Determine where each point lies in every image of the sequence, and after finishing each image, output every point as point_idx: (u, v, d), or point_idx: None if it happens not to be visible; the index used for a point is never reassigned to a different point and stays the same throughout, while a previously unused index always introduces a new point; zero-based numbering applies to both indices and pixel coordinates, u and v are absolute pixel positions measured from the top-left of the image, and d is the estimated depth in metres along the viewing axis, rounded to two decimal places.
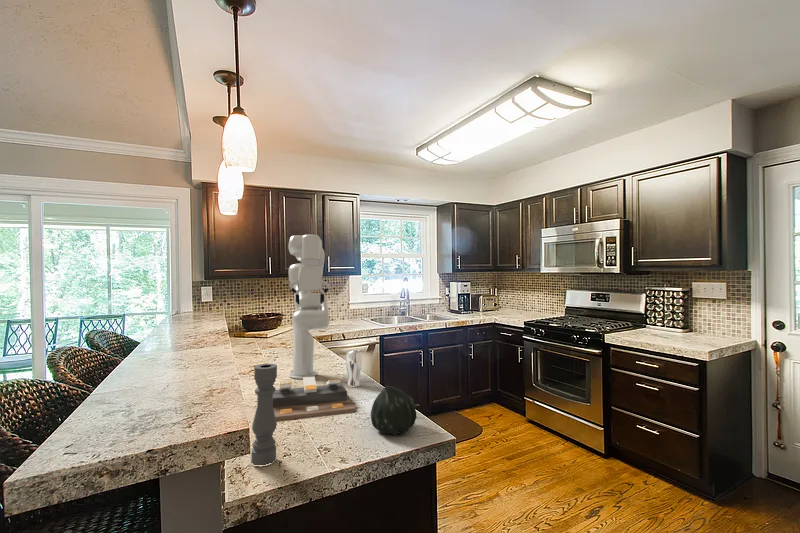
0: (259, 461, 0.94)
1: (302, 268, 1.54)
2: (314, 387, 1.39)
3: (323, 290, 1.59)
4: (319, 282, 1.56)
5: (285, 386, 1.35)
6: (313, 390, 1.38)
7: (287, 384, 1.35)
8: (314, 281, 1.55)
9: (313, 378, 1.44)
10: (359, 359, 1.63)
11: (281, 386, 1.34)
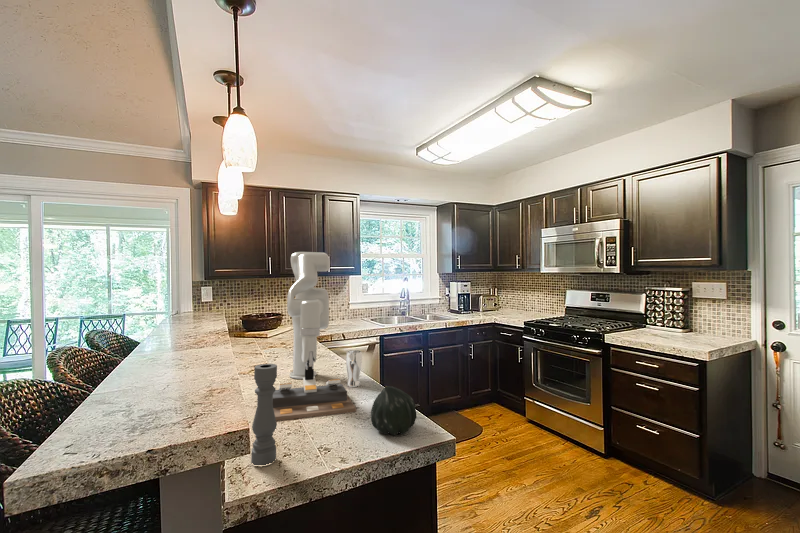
0: (259, 461, 0.94)
1: (316, 338, 1.42)
2: (314, 387, 1.39)
3: None
4: None
5: (285, 386, 1.35)
6: (313, 390, 1.38)
7: (287, 384, 1.35)
8: None
9: None
10: (359, 359, 1.63)
11: (281, 386, 1.34)
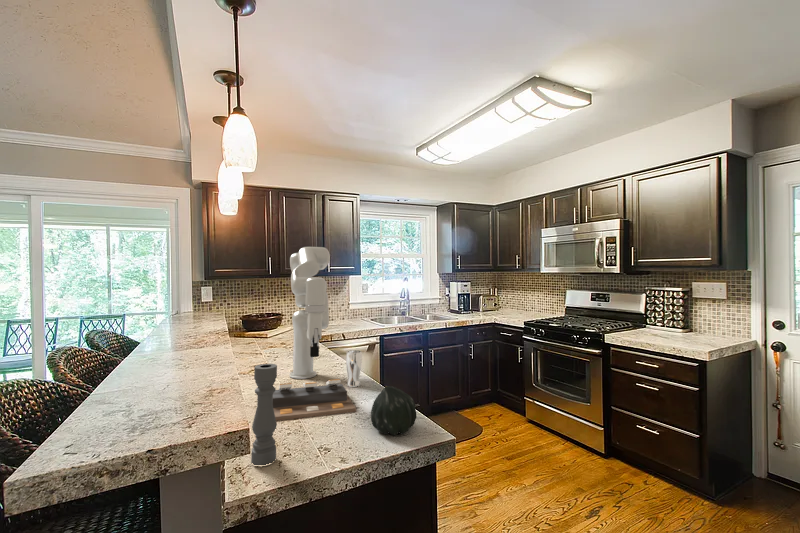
0: (259, 461, 0.94)
1: (321, 315, 1.42)
2: (314, 382, 1.39)
3: None
4: None
5: (285, 386, 1.35)
6: (313, 384, 1.38)
7: (287, 384, 1.35)
8: None
9: None
10: (359, 359, 1.63)
11: (281, 386, 1.34)
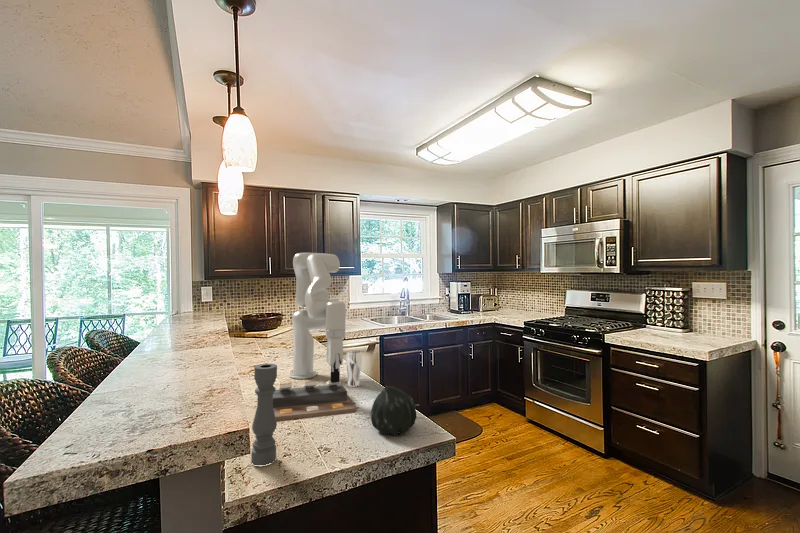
0: (259, 461, 0.94)
1: (342, 340, 1.39)
2: (314, 381, 1.39)
3: None
4: None
5: (285, 386, 1.35)
6: (313, 383, 1.38)
7: (287, 384, 1.35)
8: None
9: None
10: (359, 359, 1.63)
11: (281, 386, 1.34)
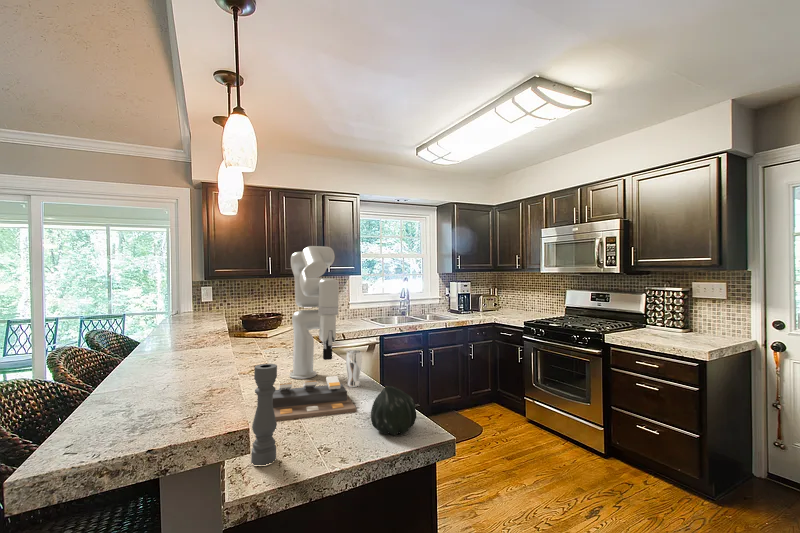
0: (259, 461, 0.94)
1: (335, 317, 1.39)
2: (314, 381, 1.39)
3: (325, 343, 1.42)
4: None
5: (285, 386, 1.35)
6: (313, 382, 1.38)
7: (287, 384, 1.35)
8: None
9: None
10: (359, 359, 1.62)
11: (281, 386, 1.34)
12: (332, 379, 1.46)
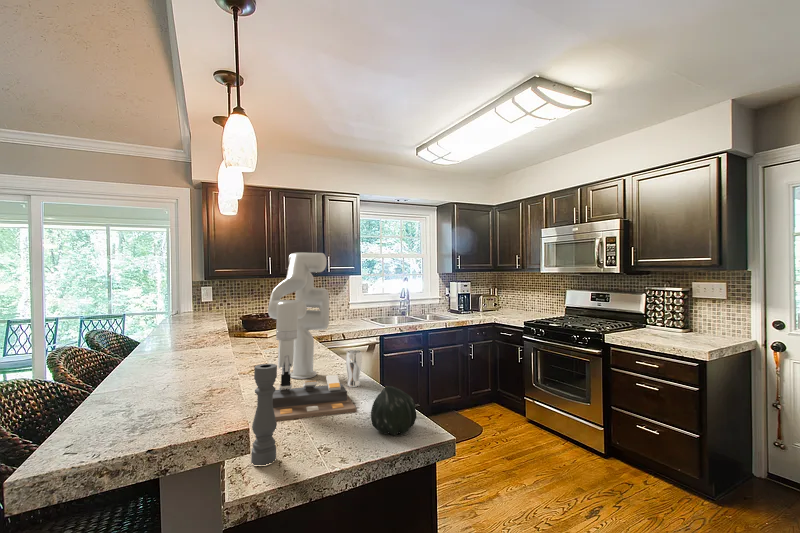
0: (259, 461, 0.94)
1: (293, 342, 1.33)
2: None
3: None
4: None
5: (285, 386, 1.35)
6: (313, 382, 1.38)
7: None
8: None
9: None
10: (359, 359, 1.63)
11: (281, 386, 1.34)
12: (332, 378, 1.46)
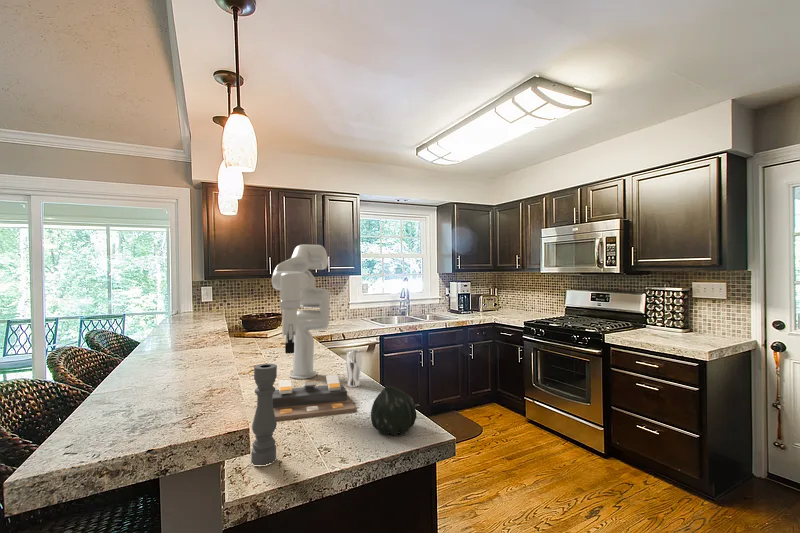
0: (259, 461, 0.94)
1: (296, 311, 1.38)
2: None
3: None
4: None
5: (285, 392, 1.35)
6: (313, 382, 1.38)
7: (287, 390, 1.35)
8: None
9: None
10: (359, 359, 1.63)
11: (281, 392, 1.34)
12: (332, 378, 1.46)
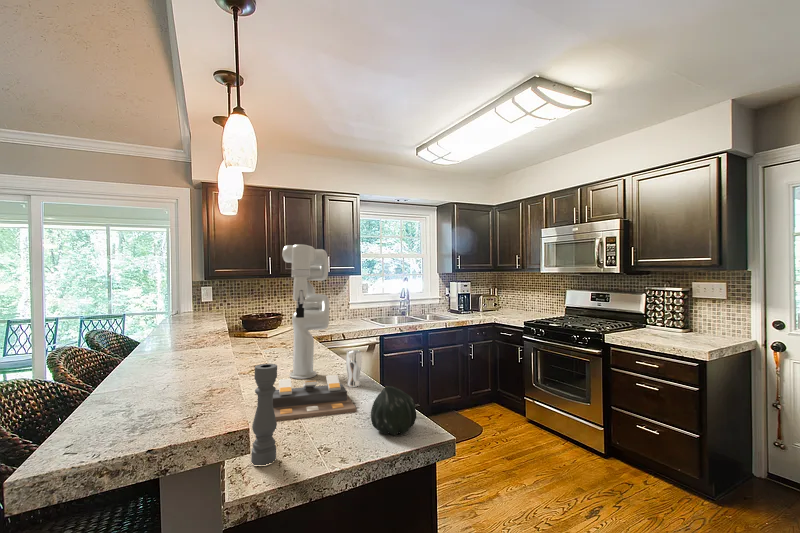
0: (259, 461, 0.94)
1: (306, 279, 1.53)
2: None
3: None
4: None
5: (285, 393, 1.35)
6: (313, 382, 1.38)
7: (287, 392, 1.35)
8: None
9: None
10: (359, 359, 1.63)
11: (281, 393, 1.34)
12: (332, 378, 1.46)
